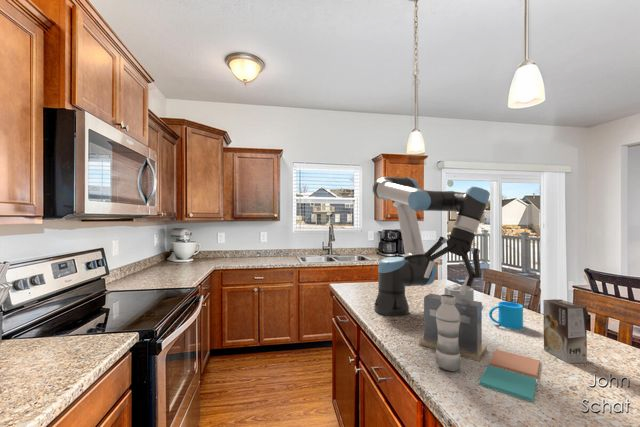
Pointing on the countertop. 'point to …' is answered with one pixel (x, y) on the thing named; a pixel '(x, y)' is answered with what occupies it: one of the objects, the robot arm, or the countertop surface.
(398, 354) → the countertop surface
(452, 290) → the lumpy-topped squat cylinder
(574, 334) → the coffee box
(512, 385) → the teal pad
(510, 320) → the mug
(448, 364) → the plastic bottle
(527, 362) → the terracotta pad
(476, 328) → the box
